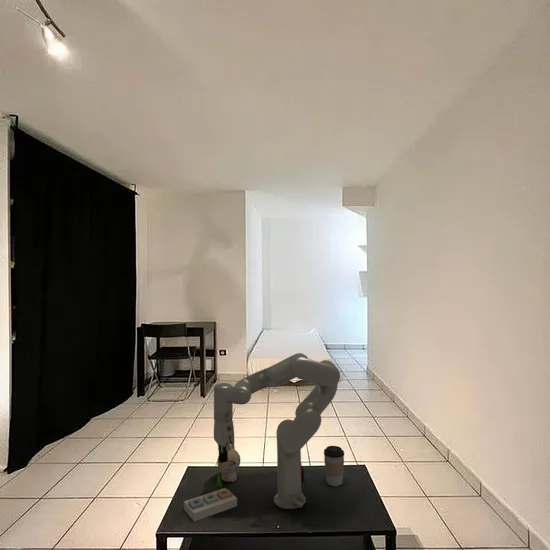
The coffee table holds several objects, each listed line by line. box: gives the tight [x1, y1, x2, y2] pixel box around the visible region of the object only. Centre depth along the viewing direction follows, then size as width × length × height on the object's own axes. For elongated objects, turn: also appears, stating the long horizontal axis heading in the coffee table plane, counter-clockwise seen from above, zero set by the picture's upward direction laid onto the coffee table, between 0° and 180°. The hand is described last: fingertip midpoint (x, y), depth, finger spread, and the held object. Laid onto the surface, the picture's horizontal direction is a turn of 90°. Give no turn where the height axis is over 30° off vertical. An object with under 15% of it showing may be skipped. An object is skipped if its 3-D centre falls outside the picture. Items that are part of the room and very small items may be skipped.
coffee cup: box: [323, 445, 345, 487], centre depth 175 cm, size 9×9×15 cm
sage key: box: [203, 492, 219, 505], centre depth 157 cm, size 5×5×2 cm
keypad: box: [183, 487, 238, 522], centre depth 156 cm, size 10×18×3 cm, turn 124°
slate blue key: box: [188, 498, 204, 510], centre depth 153 cm, size 5×5×2 cm
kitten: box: [216, 444, 241, 488], centre depth 179 cm, size 15×10×15 cm
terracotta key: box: [217, 488, 233, 500], centre depth 160 cm, size 5×5×2 cm
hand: (223, 461), depth 160 cm, fingers closed
